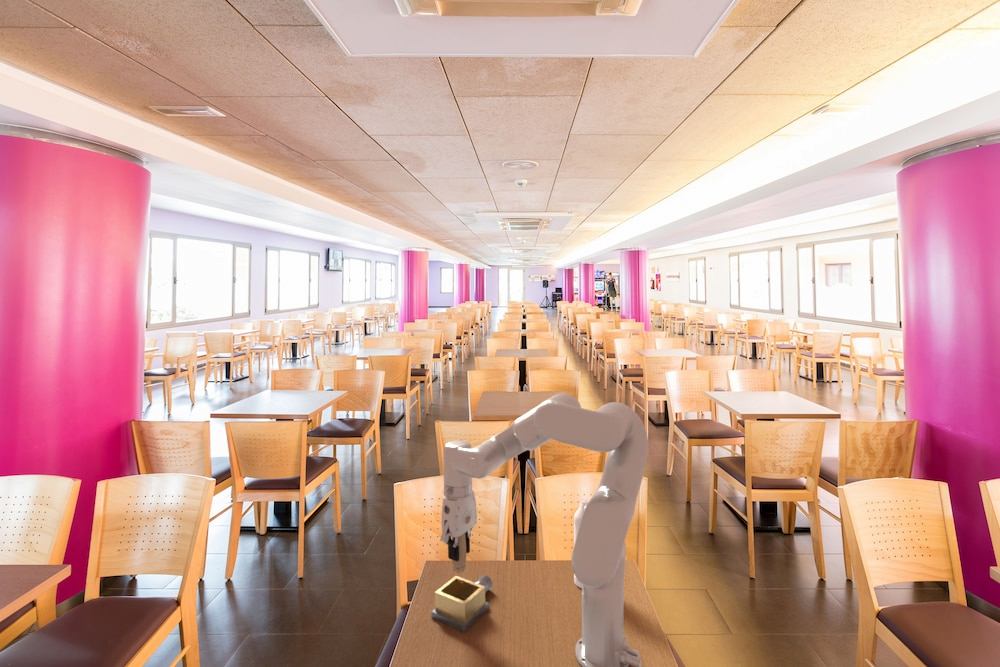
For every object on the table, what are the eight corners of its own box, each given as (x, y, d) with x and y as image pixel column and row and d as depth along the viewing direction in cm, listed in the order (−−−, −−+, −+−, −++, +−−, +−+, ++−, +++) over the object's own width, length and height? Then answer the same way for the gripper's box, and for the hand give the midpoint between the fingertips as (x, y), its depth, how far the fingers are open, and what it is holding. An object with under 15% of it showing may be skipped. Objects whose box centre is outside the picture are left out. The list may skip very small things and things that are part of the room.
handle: (468, 576, 124) (468, 520, 123) (445, 574, 125) (444, 519, 124) (472, 566, 128) (472, 512, 127) (449, 564, 129) (449, 510, 128)
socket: (502, 594, 135) (502, 572, 134) (464, 632, 120) (464, 607, 119) (471, 582, 141) (471, 561, 140) (431, 617, 126) (431, 593, 125)
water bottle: (572, 577, 143) (571, 496, 141) (593, 576, 143) (593, 495, 141) (578, 595, 134) (578, 509, 132) (600, 594, 134) (600, 508, 133)
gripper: (449, 503, 116) (450, 575, 117) (487, 481, 130) (488, 545, 131) (426, 496, 120) (427, 566, 121) (465, 475, 134) (466, 538, 135)
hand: (459, 554), depth 126 cm, fingers closed on handle, 4 cm apart
